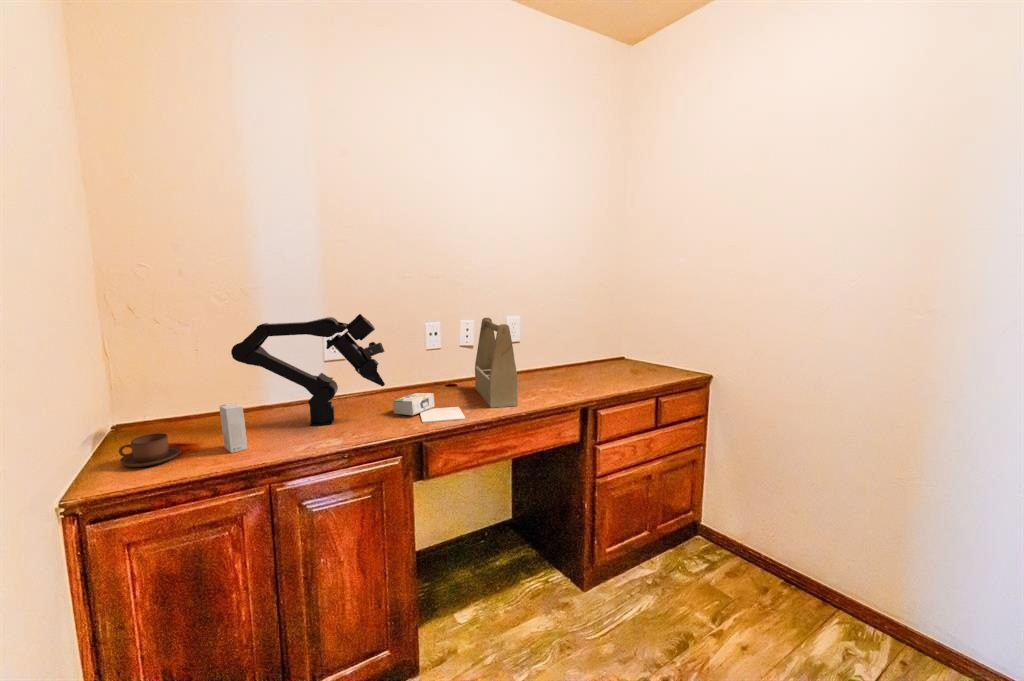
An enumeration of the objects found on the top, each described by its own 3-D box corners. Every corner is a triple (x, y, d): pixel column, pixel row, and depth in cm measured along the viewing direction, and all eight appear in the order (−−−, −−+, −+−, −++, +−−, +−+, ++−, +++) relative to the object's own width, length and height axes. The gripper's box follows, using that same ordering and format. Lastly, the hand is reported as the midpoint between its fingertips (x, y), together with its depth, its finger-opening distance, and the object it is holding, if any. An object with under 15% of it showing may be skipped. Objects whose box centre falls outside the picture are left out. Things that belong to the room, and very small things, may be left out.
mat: (422, 422, 148) (422, 421, 148) (418, 410, 162) (418, 409, 162) (465, 419, 152) (465, 418, 152) (458, 407, 165) (458, 406, 165)
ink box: (412, 415, 153) (435, 407, 164) (411, 400, 153) (434, 393, 163) (393, 414, 158) (416, 406, 168) (392, 399, 157) (415, 392, 167)
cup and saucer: (127, 475, 109) (124, 450, 109) (116, 462, 117) (113, 439, 116) (187, 460, 118) (184, 437, 118) (173, 449, 126) (171, 427, 125)
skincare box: (248, 449, 126) (244, 406, 124) (229, 454, 122) (225, 409, 121) (240, 443, 130) (237, 401, 128) (222, 448, 126) (218, 405, 125)
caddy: (474, 389, 193) (473, 317, 189) (499, 387, 196) (499, 316, 191) (489, 408, 165) (489, 324, 161) (518, 406, 168) (519, 323, 163)
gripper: (373, 332, 141) (407, 370, 145) (367, 333, 158) (398, 367, 162) (344, 357, 138) (380, 395, 142) (341, 355, 155) (373, 389, 159)
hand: (383, 385), depth 151 cm, fingers closed
